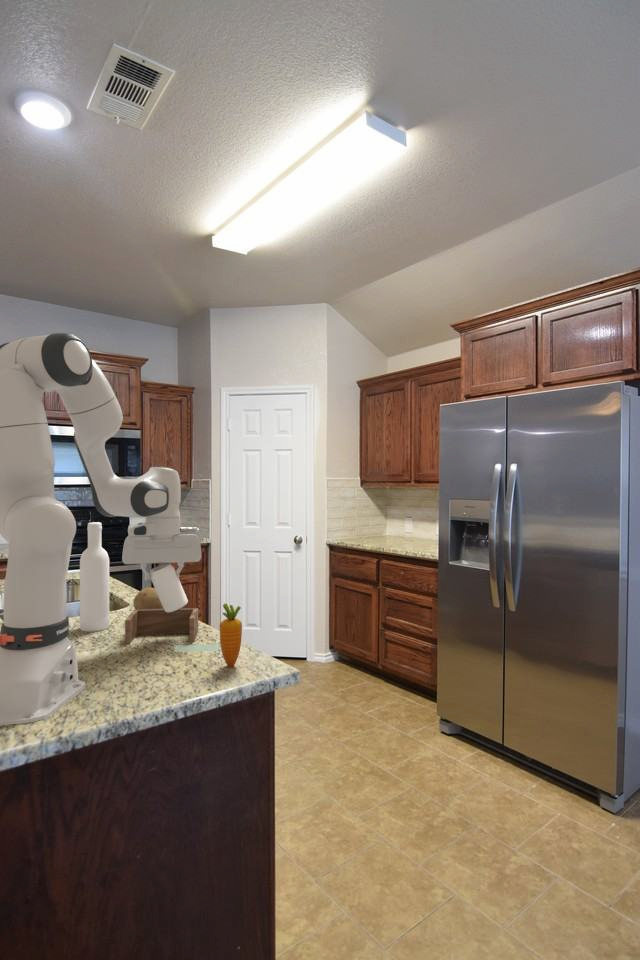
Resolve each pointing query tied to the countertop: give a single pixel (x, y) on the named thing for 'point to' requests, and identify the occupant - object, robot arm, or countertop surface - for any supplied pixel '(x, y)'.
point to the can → (168, 587)
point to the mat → (196, 648)
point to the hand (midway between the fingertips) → (162, 579)
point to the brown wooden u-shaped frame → (161, 622)
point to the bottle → (94, 583)
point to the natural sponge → (147, 599)
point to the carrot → (230, 635)
